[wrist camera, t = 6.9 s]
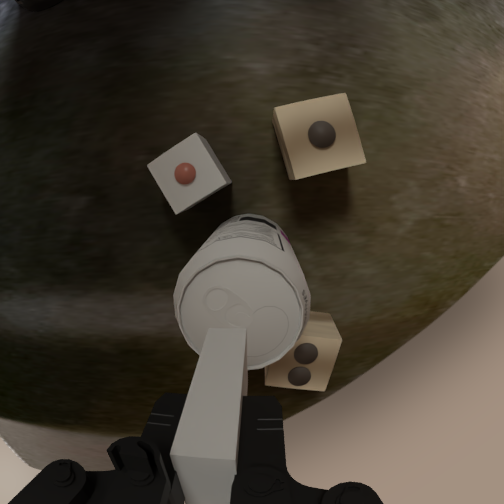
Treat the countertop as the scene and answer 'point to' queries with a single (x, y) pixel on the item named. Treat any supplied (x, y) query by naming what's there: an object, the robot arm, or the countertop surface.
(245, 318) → the supplement can
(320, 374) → the maple block
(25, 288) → the countertop surface
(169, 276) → the countertop surface
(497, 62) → the countertop surface
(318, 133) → the maple block
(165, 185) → the grey plastic block
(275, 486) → the robot arm
